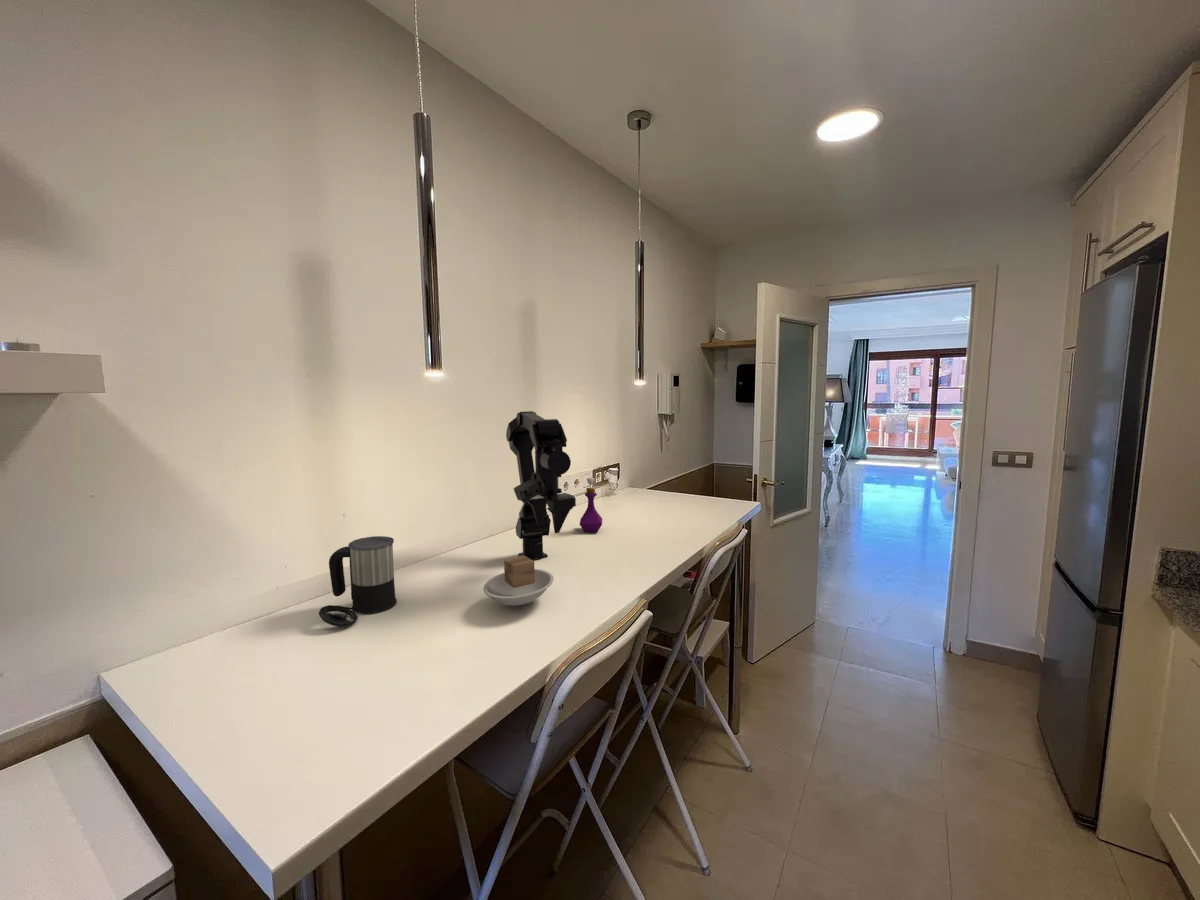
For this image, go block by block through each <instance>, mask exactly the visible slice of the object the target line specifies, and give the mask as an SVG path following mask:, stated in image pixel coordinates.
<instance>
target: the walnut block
mask: <svg viewBox="0 0 1200 900" xmlns="http://www.w3.org/2000/svg"><path fill="white" fill-rule="evenodd" d="M503 566H504V568H503V570H504V571H503V573H504V575H505V582H507V583H508V584H509V585H511V586H512V587H513V588H517V587H521V586H525V585H529V584H533V583H535V571H534V569H535V561H534V560H531V559H530V558H528V557H526V556H525V555H523V556H519V555H518V556H514V557H509V558H505V559H503Z"/></svg>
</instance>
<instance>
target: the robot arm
mask: <svg viewBox="0 0 1200 900" xmlns="http://www.w3.org/2000/svg"><path fill="white" fill-rule="evenodd" d="M505 431H506V432H505V433H506V434H505V439H506V441H507V442H508V444H509V449H510V451H511V452H512V453H513V454H514V455H515V456H516V461H517V462H516V463H517V468H518V469H517V471H518V476H519V484H518V485H516V486H515V487H514V488H513V491H514V493H515V496H516V499H517V500H518V501H521V502H522V505H521V508H520V509H519V510H520V511H519V513H518V519H517V521H516V524H515V525H516V526H515V535H516V536H517V538H519V540H522V552H519V553H517V555H518V556H523V555H525V556H526V557H528V558H530V559H531V560H533V561H534V560H538V559H542V558H543V559H544V558H547V557H548V556H549V555H548V554H547V553H546V552H544V542H543V536H545V537H546V536H549V535H550V530H551V522H552V525H553V531H554V534H559V533H560V532H561V530H562V528H563V525H564V523H565V521H566V519H567V517H568V515H569V513H570V511H571V510H573V509H574V507H576V504H577V503H576V501H577V498H576V497H575V496H574V495H572V494H570V493H567V492H563V491H562V488H560V487H559V478H562V475H563V474H566V473H568V471H569V469H570V468H571V462H572V461H571V458H570V455H569V454H568V453H567V452H565V451H563V450H564V448H566V447H567V441H568V439H567V436H566V433H565V431H564V428H563V426H562V424H561V423H560V421H559V420H558V419H557V418H549V419H545V418H544V417H542V416H540V415H539V414H537V413H536V412H535V411H533V410H532V411H530V410H529V411H528V410H527V411H519V412H517V414H516V417H515V418H513V419H512V420H511V421H509V422H508V424H507V428H506V430H505ZM533 449H535V450H534V459H533ZM547 506H548V507H547ZM547 510H548V511H547ZM548 512H550V513H551V517H552V518H550V515H549V514H548ZM551 519H552V520H551Z"/></svg>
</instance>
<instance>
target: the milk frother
mask: <svg viewBox="0 0 1200 900" xmlns="http://www.w3.org/2000/svg"><path fill="white" fill-rule="evenodd" d="M394 541H395V539H394V538H393V537H391V536H390V537H389V536H386V535H385V536H383V535H379V536H378V535H376V536H374V535H373V536H366V537H361V538H357V539H354V540H352V541H350V542H349V543H348V544H347V546H343V547H340V548H338V549H337V550H335V551H334V552H333V553H332V554H331V556H330V557H329V560H328V568H329V575H330V582H331V583H330V584H331V589H332V594H333V595H334V596H335V597H340V596H342V595H343V594H345V592H346V590H347V589H346V588H347V587H346V579H345V571H344V558H349V573H350V574H349V575H350V576H349V577H350V593H351V602H352V605H351V607H348V606H343V605H330V604H328V605H325V606H322V607H320V609H319V611H318V615H319V617H320V619H321V620H322V621H323V623H325V624H328V625H331V626H333V627H338V628H339V629H340V628H344V627H345V628H346V627H350V626H353V625H355V624H356V623H357V621H358V614H364V615H369V614H376V613H382V612H384V611H385V612H386V611H388V610H389V609H392V608H393V607H394V606H396V605H397V602H398V601H397V598H396V587H395V570H394V569H395V568H394V567H395V566H394V564H395V563H394V550H393V547H394V546H393V545H394ZM331 612H337V613H331ZM338 612H339V613H338ZM356 613H357V614H356ZM348 616H349V617H350V618H349V617H348Z"/></svg>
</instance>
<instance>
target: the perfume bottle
mask: <svg viewBox="0 0 1200 900" xmlns="http://www.w3.org/2000/svg"><path fill="white" fill-rule="evenodd" d="M595 480H596V478H594V477H587V478H586V482H587V483H588V484H589V486H590V487H586V489H585V490H586V492H585V493H584V496H585V497H586V498H587V508H586V510H585V512H584V513H583V514H582V516H581V517H580V520H579V526H580V528H581V529H582V531H583V532H584V533H586V532H589V533H598V532H599V530H600V529H601V527H602V526H603V517H602V516H601V515H600V513H599V512H598V511H597V509H596V508H595V507H596V506H595V502H594V501H595V497H596V496H597V495H598V493H597V492H596V489H595V488H593V487H592V485H593V484H594V483H595Z"/></svg>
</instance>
